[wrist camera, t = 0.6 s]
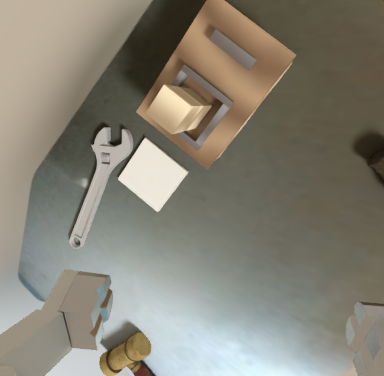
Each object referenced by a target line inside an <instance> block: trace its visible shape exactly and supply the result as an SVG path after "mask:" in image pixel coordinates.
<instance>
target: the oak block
mask: <svg viewBox="0 0 384 376" xmlns="http://www.w3.org/2000/svg"><path fill="white" fill-rule="evenodd" d="M212 106H213V105H211V104H210V103H209V102H208V101H206V100H205V99H204V98H202V97H201V96H200V95H199V94H197V93H196V92H195V91H194V90H192V89H191V88H184V87H177V86H171V85H163V87H162V88H161V90H160V92H159V93H158V95H157V96H156V98H155V99H154V101H153V102H152V104H151V106H150V107H149V109H148V110H147V112H146V114H147V115H148V116H149V117H151V118H152V119H153V120H154V121H155V122H157V123H158V124H159V125H160V126H162V127H163V128H164V129H165V130H167V131H168V132H169V133H170V134H176V133H180V132H184V131H187V130H191V129H195V128H197V127H198V125H199V124H200V123H201V121H202V120H203V118H204V117H205V116H206V114H207V113H208V112H209V110H210V109H211V107H212Z"/></svg>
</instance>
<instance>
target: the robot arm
mask: <svg viewBox="0 0 384 376" xmlns="http://www.w3.org/2000/svg"><path fill="white" fill-rule="evenodd" d="M110 284H111V279H110V276H109V275H104V274H96V273H89V272H81V271H73V270H64V271H63V272H62V273H61V275H60V277H59V279H58V280H57V282H56V284H55V286H54V288H53V289H52V291H51V293H50V295H49V297H48V298H47V300H46V302H45V304H44V306H43V308H42V310H35V311H34V312H32V313H31V314H30V315H28V316H27V317H25V318H24V319H22V320H21V321H20V322H18V323H17V324H15V325H14V326H12V327H11V328H9V329H8V330H6V331H5V332H3V333H2V334H1V335H0V376H45V375H46V374H47V373H48V372H49V371H50V370H51V369H52V368H53V367H54V366H55V365H56V364H57V363H58V362H59V361H60V360H61V359H62V358H63V357H64V356H65V355H67V354H68V353H69V352H70V351H71V348H80V349H91V350H98V347H99V344H100V342H101V339H102V336H103V333H104V328H103V323H104V322H106V321H107V320H108V318H109V315H110V312H111V308H112V302H113V294H112V291H111V290H110V289H109V287H110ZM354 312H355V315H353V316H351V317H349V319H348V322H347V324H346V338H347V342H348V346H349V348H350V349H351V350H352V351H353V352H354V353H355V354H356V356H355V358H354V360H353V362H354V365H355V368H356V371H357V374H358V376H384V304H378V303H367V302H358V303H357V304H356V305H355V307H354Z"/></svg>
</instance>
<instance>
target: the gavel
mask: <svg viewBox="0 0 384 376" xmlns="http://www.w3.org/2000/svg"><path fill="white" fill-rule="evenodd" d="M150 352H151V344H150V341H149V340H148V338H147V337H146V336H145V335H144V334H143V333H141V332H138V333H136V334H134V335H133V336H131V337H130V338H129V339H128V341H126V342H124V343H123V344H121V345H120V346H118V347H116V348H115V349H110V350H108V351H107V352H105V353H103V354H102V356H101V357H100V368H101V370H102V372H103V373H104V374H105V375H106V376H113V375H115V374H117V373H119V372H120V371H121V370H122V369H123V368H124V367H126V366H127V367H128V368H129V369H130V370H131V371H132V372H133V374H134V375H135V376H153V375H152V374H151V372H150V371H149V370H148V369H147V368H146V367H145V366H144V365H142V364H141V363H140V362H139V361H140V360H142V359H144V358H145V357H147V356H149V354H150Z"/></svg>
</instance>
